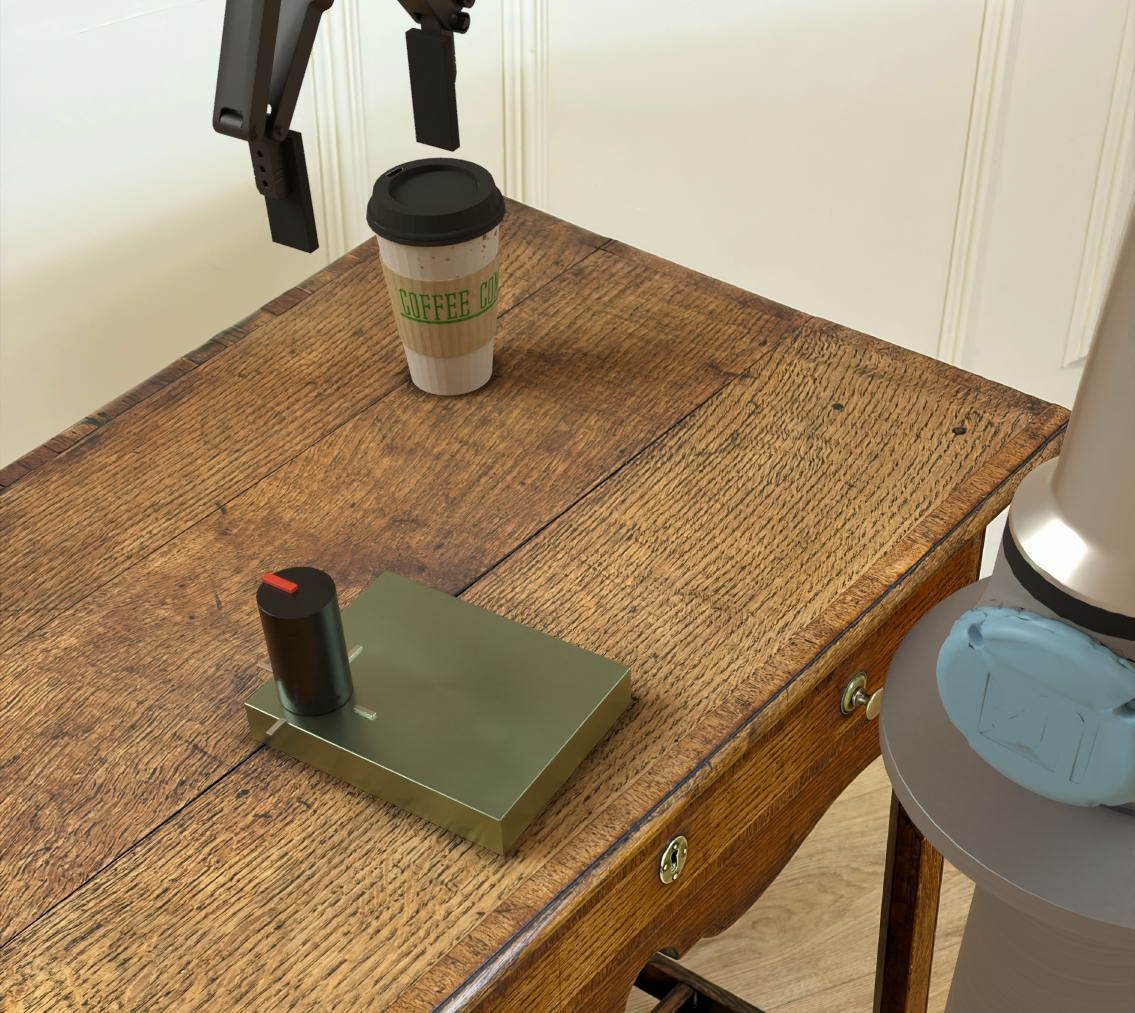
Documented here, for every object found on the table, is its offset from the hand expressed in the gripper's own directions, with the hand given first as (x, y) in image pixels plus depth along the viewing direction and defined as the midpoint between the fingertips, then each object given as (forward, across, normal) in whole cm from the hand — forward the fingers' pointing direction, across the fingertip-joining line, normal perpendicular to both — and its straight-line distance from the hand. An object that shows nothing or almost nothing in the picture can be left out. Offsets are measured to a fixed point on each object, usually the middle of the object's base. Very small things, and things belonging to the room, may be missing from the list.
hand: (370, 193), depth 91 cm
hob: (+24, +15, +13) cm, 31 cm away
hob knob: (+21, +19, +7) cm, 29 cm away
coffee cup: (+24, -16, -8) cm, 30 cm away
